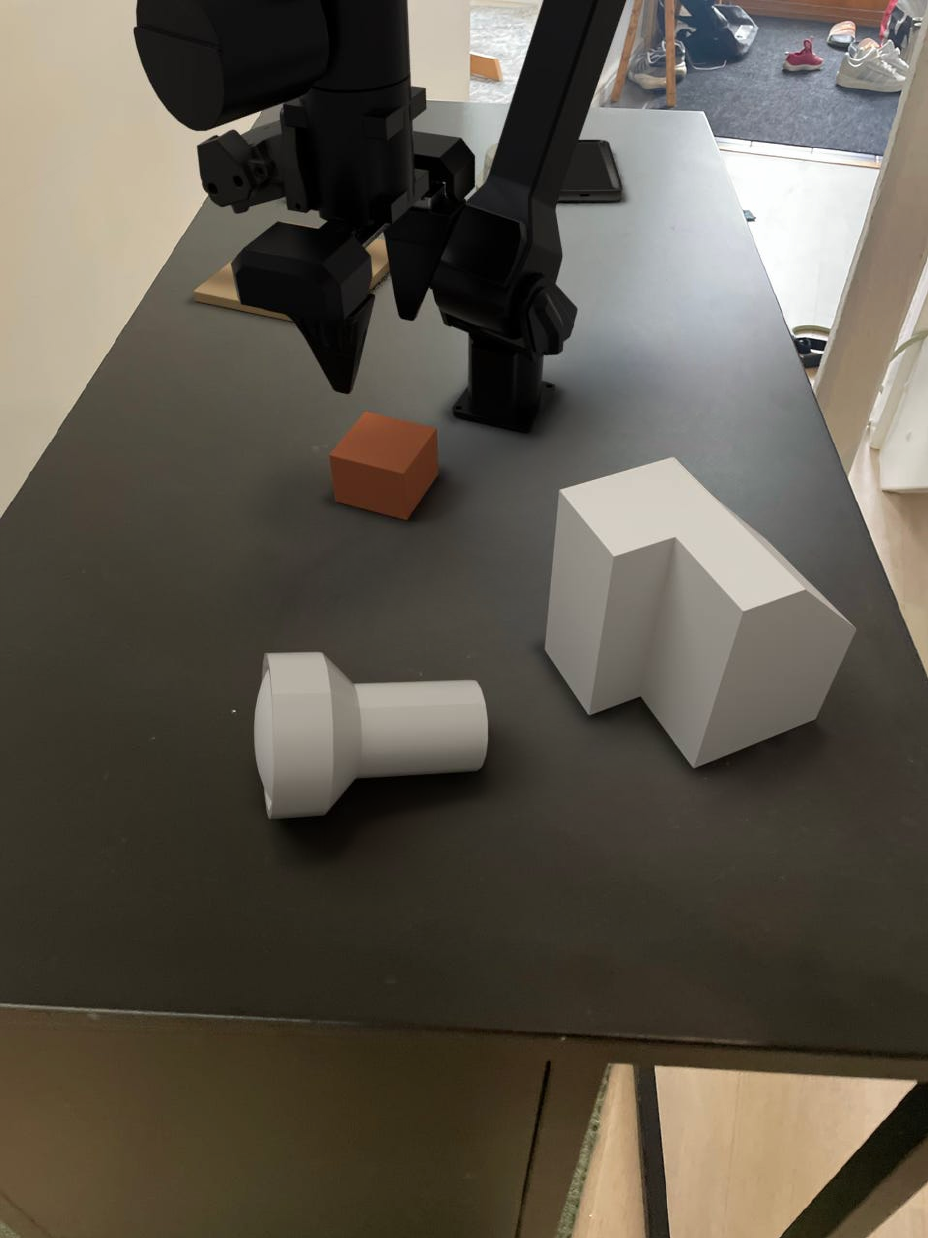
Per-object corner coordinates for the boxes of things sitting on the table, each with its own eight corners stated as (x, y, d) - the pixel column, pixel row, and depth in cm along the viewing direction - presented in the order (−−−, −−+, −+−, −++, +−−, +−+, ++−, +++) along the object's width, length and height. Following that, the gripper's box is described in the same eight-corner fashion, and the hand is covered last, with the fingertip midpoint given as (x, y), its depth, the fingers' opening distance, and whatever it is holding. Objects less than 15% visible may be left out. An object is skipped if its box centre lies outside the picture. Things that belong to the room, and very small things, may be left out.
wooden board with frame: (331, 330, 80) (328, 303, 78) (195, 301, 83) (189, 274, 81) (407, 253, 90) (406, 227, 88) (283, 230, 93) (279, 205, 92)
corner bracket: (544, 649, 54) (559, 489, 45) (705, 594, 57) (748, 434, 48) (639, 790, 47) (677, 634, 38) (815, 719, 50) (888, 559, 42)
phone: (608, 139, 107) (623, 190, 97) (607, 149, 108) (622, 201, 98) (541, 139, 107) (549, 190, 97) (540, 149, 108) (549, 201, 98)
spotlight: (248, 702, 50) (255, 620, 43) (449, 694, 53) (483, 617, 46) (255, 845, 45) (263, 777, 39) (473, 827, 48) (514, 762, 42)
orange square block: (406, 520, 62) (403, 473, 59) (335, 501, 63) (328, 454, 61) (438, 474, 66) (437, 427, 63) (369, 457, 67) (365, 410, 64)
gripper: (303, 10, 53) (332, 267, 65) (103, 113, 42) (182, 405, 53) (479, 29, 51) (477, 295, 62) (318, 146, 39) (353, 447, 50)
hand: (376, 353), depth 57 cm, fingers open, 9 cm apart
